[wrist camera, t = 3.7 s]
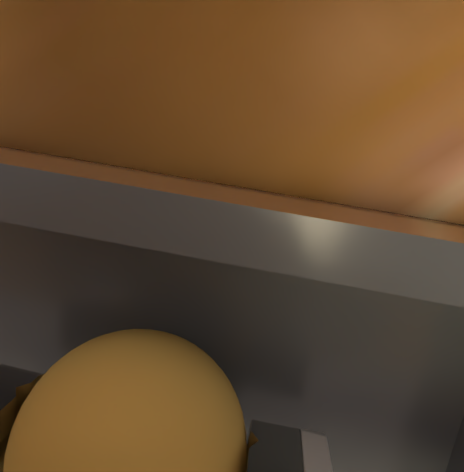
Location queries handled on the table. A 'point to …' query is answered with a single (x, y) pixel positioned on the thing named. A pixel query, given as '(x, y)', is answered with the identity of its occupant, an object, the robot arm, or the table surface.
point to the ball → (130, 410)
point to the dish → (248, 298)
